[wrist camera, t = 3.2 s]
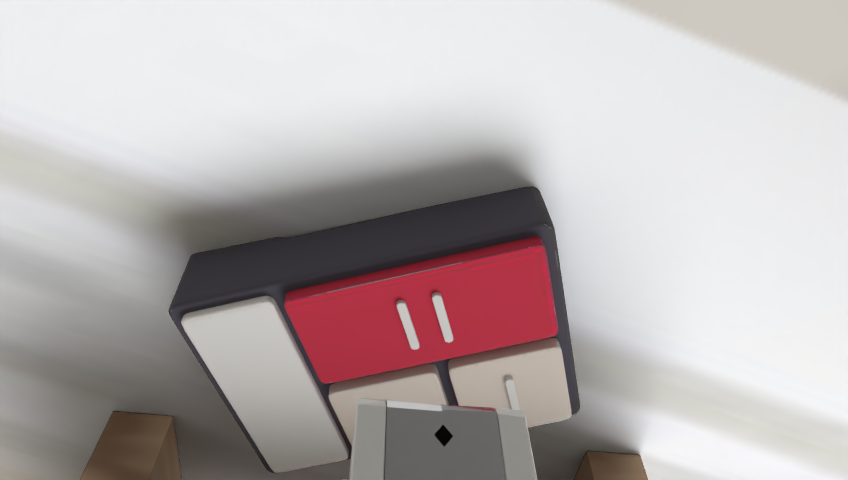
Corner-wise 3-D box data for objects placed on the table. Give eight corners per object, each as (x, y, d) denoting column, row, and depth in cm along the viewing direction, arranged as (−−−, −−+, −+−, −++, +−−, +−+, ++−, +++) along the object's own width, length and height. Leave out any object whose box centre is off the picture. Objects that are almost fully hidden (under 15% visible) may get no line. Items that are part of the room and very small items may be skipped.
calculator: (586, 428, 29) (266, 490, 30) (563, 358, 32) (278, 416, 34) (558, 232, 22) (157, 321, 24) (534, 172, 26) (185, 253, 27)
